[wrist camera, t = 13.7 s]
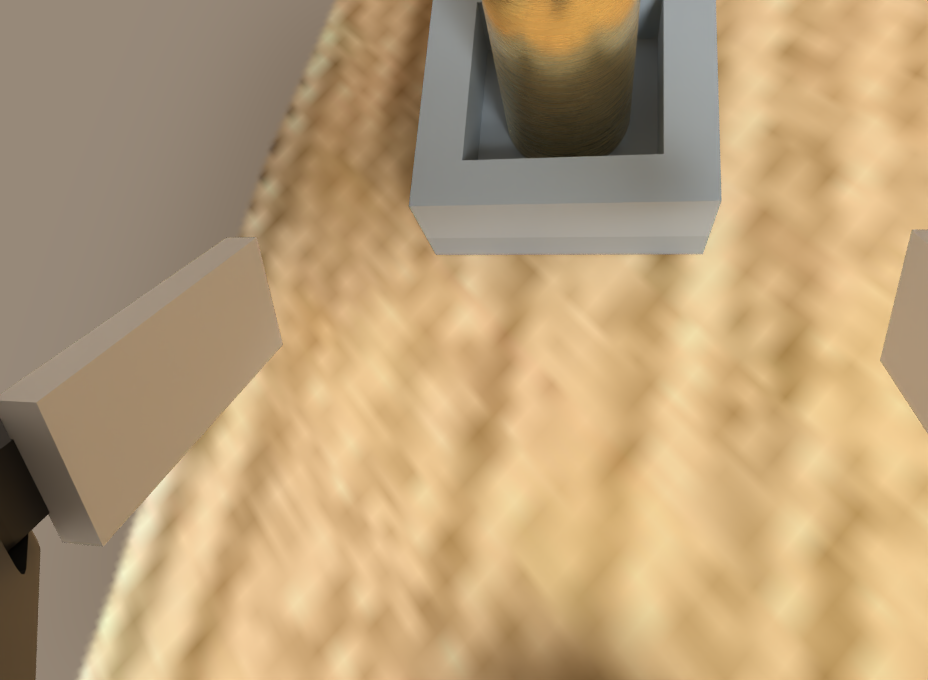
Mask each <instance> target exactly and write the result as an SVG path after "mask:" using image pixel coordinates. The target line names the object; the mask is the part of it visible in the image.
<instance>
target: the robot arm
mask: <svg viewBox="0 0 928 680" xmlns="http://www.w3.org/2000/svg"><path fill="white" fill-rule="evenodd" d="M282 345H283V343H282V339H281V335H280V331H279V326H278V322H277V318H276V314H275V310H274V306H273V302H272V298H271V294H270V289H269V285H268V281H267V277H266V273H265V269H264V265H263V261H262V256H261V252H260V248H259V244H258V240H257V237H233V238H225V239H223V240H222V241H221V242H219V243H218V244H216V245H215V246H213V247H212V248H210V249H209V250H208V251H206V252H205V253H203V254H202V255H200V256H199V257H198V258H196V259H195V260H193V261H192V262H190V263H189V264H187V265H186V266H184V267H183V268H182V269H180V270H179V271H177V272H176V273H174V274H173V275H171V276H170V277H169V278H167V279H166V280H164V281H163V282H161V283H160V284H159V285H157V286H156V287H154V288H153V289H151V290H150V291H148V292H147V293H145V294H144V295H143V296H141V297H140V298H138V299H137V300H135V301H134V302H133V303H131V304H130V305H128V306H127V307H125V308H124V309H122V310H121V311H119V312H118V313H117V314H115V315H114V316H112V317H111V318H109V319H108V320H106V321H105V322H104V323H102V324H101V325H99V326H98V327H96V328H95V329H94V330H92V331H91V332H89V333H88V334H87V335H85V336H83V337H82V338H80V339H79V340H78V341H76V342H75V343H73V344H72V345H70V346H69V347H67V348H66V349H65V350H63V351H62V352H60V353H59V354H57V355H56V356H55V357H53V358H52V359H50V360H49V361H47V362H46V363H44V364H43V365H41V366H40V367H39V368H37V369H36V370H34V371H33V372H31V373H30V374H28V375H27V376H26V377H24V378H23V379H21V380H20V381H18V382H17V383H15V384H14V385H13V386H11V387H10V388H8V389H7V390H5V391H4V392H2V393H1V394H0V680H35V676H36V651H37V625H38V598H39V570H40V546H39V544H38V541H37V539H36V537H35V535H34V533H33V531H32V529H33V528H34V527H35V526H36V525H37V524H38V523H39V522H40V521H41V520H42V519H43V518H45V517H46V516H47V515H48V514H49V516H50V518H51V520H52V522H53V524H54V526H55V528H56V530H57V532H58V534H59V536H60V538H61V540H62V542H64V543H74V544H83V545H93V546H104V545H105V544H106V543H107V542H108V540H109V539H110V538H111V537H112V536H113V535H114V534H115V533H116V531H117V530H118V529H119V528H120V527H121V526H122V525H123V524H124V522H125V521H126V520H127V519H128V518H129V517H130V516H131V515H132V513H133V512H134V511H135V510H136V509H137V508H138V507H139V506H140V505H141V503H142V502H143V501H144V500H145V499H146V498H147V497H148V496H149V494H150V493H151V492H152V491H153V490H154V489H155V488H156V487H157V485H158V484H159V483H160V482H161V481H162V480H163V479H164V478H165V476H166V475H167V474H168V473H169V472H170V471H171V470H172V469H173V467H174V466H175V465H176V464H177V463H178V462H179V461H180V460H181V458H182V457H183V456H184V455H185V454H186V453H187V452H188V451H189V449H190V448H191V447H192V446H193V445H194V444H195V443H196V442H197V440H198V439H199V438H200V437H201V436H202V435H203V434H204V433H205V431H206V430H207V429H208V428H209V427H210V426H211V425H212V424H213V422H214V421H215V420H216V419H217V418H218V417H219V416H220V415H221V413H222V412H223V411H224V410H225V409H226V408H227V407H228V406H229V404H230V403H231V402H232V401H233V400H234V399H235V398H236V397H237V396H238V394H239V393H240V392H241V391H242V390H243V389H244V388H245V387H246V385H247V384H248V383H249V382H250V381H251V380H252V379H253V378H254V376H255V375H256V374H257V373H258V372H259V371H260V370H261V369H262V367H263V366H264V365H265V364H266V363H267V362H268V361H269V360H270V358H271V357H272V356H273V355H274V354H275V353H276V352H277V351H278V349H279V348H280V347H281V346H282ZM880 361H881V363H882V364H883V366H884V367H885V369H886V370H887V372H888V373H889V375H890V376H891V378H892V379H893V381H894V383H895V384H896V386H897V387H898V389H899V390H900V392H901V393H902V395H903V396H904V398H905V399H906V401H907V402H908V404H909V406H910V407H911V409H912V410H913V412H914V413H915V415H916V416H917V418H918V419H919V421H920V422H921V424H922V426H923V427H924V429H925V430H926V432H927V433H928V230H912V231H911V235H910V239H909V243H908V247H907V251H906V255H905V260H904V264H903V268H902V272H901V276H900V280H899V284H898V288H897V293H896V297H895V301H894V305H893V309H892V313H891V317H890V322H889V326H888V330H887V334H886V338H885V342H884V346H883V350H882V355H881V359H880Z"/></svg>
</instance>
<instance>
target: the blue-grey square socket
mask: <svg viewBox="0 0 928 680" xmlns="http://www.w3.org/2000/svg"><path fill="white" fill-rule="evenodd" d="M720 203H721V170H720V134H719V99H718V63H717V28H716V0H640V10H639V21H638V33H637V44H636V56H635V68H634V79H633V91H632V103H631V114H630V122H629V126H628V129H627V132H626V134H625V136H624V138H623V140H622V141H621V142H620V144H619V145H618V146H617V147H616V149H615V150H614V151H613V152H611V153H610V154H609V155H608V156H585V157H553V158H525V157H524V156H523V155H522V154H521V153H520V152H519V151H518V150H517V149H516V147H515V146H514V144H513V142H512V141H511V138H510V135H509V131H508V126H507V122H506V117H505V112H504V107H503V102H502V97H501V92H500V88H499V83H498V78H497V73H496V68H495V63H494V58H493V53H492V49H491V44H490V39H489V34H488V29H487V24H486V19H485V14H484V10H483V5H482V0H433V3H432V12H431V20H430V29H429V37H428V46H427V55H426V63H425V72H424V80H423V89H422V98H421V106H420V115H419V123H418V132H417V141H416V149H415V158H414V166H413V175H412V183H411V192H410V201H409V207H410V209H411V211H412V213H413V215H414V216H415V218H416V220H417V222H418V224H419V225H420V227H421V229H422V231H423V232H424V234H425V236H426V238H427V240H428V241H429V243H430V245H431V247H432V249H433V250H434V252H435V254H436V255H515V254H703V252H704V249H705V246H706V243H707V240H708V237H709V234H710V232H711V229H712V226H713V223H714V220H715V217H716V215H717V212H718V209H719V206H720Z"/></svg>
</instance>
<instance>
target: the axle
mask: <svg viewBox="0 0 928 680" xmlns="http://www.w3.org/2000/svg"><path fill="white" fill-rule="evenodd" d="M482 5H483V10H484V14H485V19H486V24H487V29H488V34H489V39H490V44H491V49H492V53H493V58H494V63H495V68H496V73H497V78H498V83H499V88H500V92H501V97H502V102H503V107H504V112H505V117H506V122H507V126H508V131H509V135H510V138H511V141H512V142H513V144H514V146H515V147H516V149H517V150H518V151H519V152H520V153H521V154H522V155H523V156H524V157H525V158H553V157H585V156H608V155H609V154H610V153H611V152H613V151H614V150H615V149H616V147H617V146H618V145H619V144H620V142H621V141H622V140H623V138H624V136H625V134H626V132H627V129H628V126H629V122H630V114H631V103H632V91H633V79H634V68H635V56H636V44H637V33H638V21H639V10H640V0H482Z"/></svg>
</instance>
